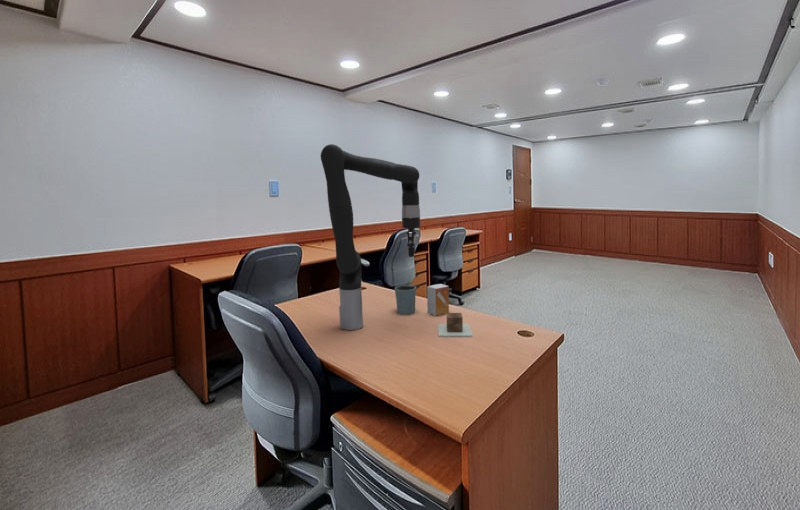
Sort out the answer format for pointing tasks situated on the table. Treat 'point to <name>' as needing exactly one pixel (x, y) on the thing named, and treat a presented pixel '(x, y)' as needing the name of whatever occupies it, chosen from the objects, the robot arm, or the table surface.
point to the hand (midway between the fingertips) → (411, 254)
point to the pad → (443, 332)
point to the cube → (454, 322)
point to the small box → (438, 299)
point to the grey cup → (405, 299)
